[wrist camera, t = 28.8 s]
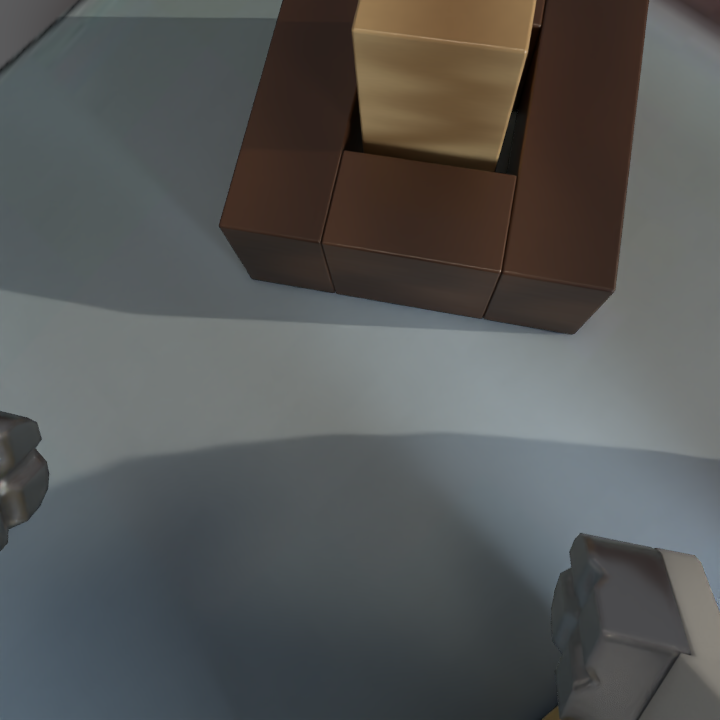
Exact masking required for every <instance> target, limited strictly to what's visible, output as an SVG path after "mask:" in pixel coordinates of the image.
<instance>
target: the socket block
mask: <svg viewBox="0 0 720 720" xmlns="http://www.w3.org/2000/svg"><path fill="white" fill-rule="evenodd" d="M357 4H358V0H283V1H282V5H281V8H280V12H279V16H278V19H277V23H276V26H275V30H274V33H273V37H272V40H271V44H270V47H269V51H268V54H267V58H266V61H265V65H264V68H263V72H262V75H261V79H260V82H259V86H258V89H257V93H256V96H255V100H254V103H253V107H252V111H251V114H250V118H249V121H248V125H247V128H246V132H245V135H244V139H243V142H242V146H241V149H240V153H239V156H238V160H237V163H236V167H235V170H234V174H233V177H232V181H231V184H230V188H229V191H228V195H227V198H226V202H225V206H224V209H223V213H222V216H221V220H220V223H219V227H220V229H221V231H222V232H223V234H224V235H225V237H226V239H227V240H228V242H229V243H230V245H231V247H232V248H233V250H234V251H235V253H236V254H237V256H238V258H239V259H240V261H241V262H242V264H243V266H244V267H245V269H246V270H247V272H248V274H249V275H250V277H251V278H252V279H256V280H262V281H268V282H274V283H279V284H285V285H291V286H297V287H302V288H308V289H314V290H320V291H325V292H331V293H335V291H336V293H337V294H342V295H348V296H354V297H359V298H365V299H371V300H377V301H382V302H388V303H394V304H399V305H405V306H411V307H417V308H422V309H428V310H434V311H440V312H445V313H451V314H457V315H463V316H468V317H474V318H480V319H481V318H482V317H483V318H484V319H487V320H492V321H498V322H504V323H510V324H515V325H521V326H527V327H533V328H538V329H544V330H550V331H556V332H561V333H567V334H575V333H576V332H577V331H578V329H579V328H580V327H581V326H582V325H583V324H584V323H585V322H586V321H587V320H588V319H589V318H590V317H591V316H592V315H593V314H594V313H595V312H596V311H597V310H598V309H599V307H600V306H601V305H602V304H603V303H604V302H605V301H606V300H607V299H608V298H609V297H610V296H611V295H612V294H613V293H614V291H615V288H616V280H617V271H618V262H619V254H620V245H621V237H622V228H623V219H624V211H625V202H626V193H627V185H628V176H629V168H630V159H631V150H632V142H633V133H634V124H635V116H636V107H637V99H638V90H639V81H640V73H641V64H642V55H643V47H644V38H645V30H646V21H647V12H648V4H649V0H537V1H536V7H535V13H534V19H533V25H532V31H531V37H530V43H529V49H528V54H527V57H526V61H525V65H524V68H523V72H522V76H521V79H520V83H519V86H518V90H517V94H516V97H515V101H514V104H513V108H512V110H514V111H515V110H517V109H518V111H517V117H516V123H515V129H514V135H513V141H512V146H511V152H510V158H509V164H508V170H507V174H503V173H496V172H489V171H483V170H476V169H469V168H462V167H456V166H449V165H442V164H435V163H428V162H422V161H415V160H408V159H401V158H394V157H388V156H381V155H374V154H367V153H363V144H362V134H361V124H360V114H359V104H358V94H357V84H356V74H355V64H354V54H353V43H352V33H351V28H352V24H353V20H354V16H355V12H356V8H357Z"/></svg>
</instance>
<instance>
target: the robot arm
mask: <svg viewBox="0 0 720 720" xmlns="http://www.w3.org/2000/svg"><path fill="white" fill-rule="evenodd" d="M41 440H42V438H41V434H40V431H39V427H38V424H37V422H36V421H34V420H32V419H29V418H27V417H23V416H19V415H15V414H10V413H6V412H2V411H0V551H1V550H2V549H3V548H4V547H5V546H6V545H7V544H8V533H9V529H11V528H13V527H15V526H17V525H20V524H22V523H24V522H26V521H28V520H29V519H30V518H31V517H32V515H33V514H34V513H35V512H36V511H37V509H38V508H39V507H40V506H41V503H42V501H43V499H44V497H45V494H46V492H47V490H48V484H49V470H48V465H47V461H46V460H45V459H44V458H43V457H42V456H41V454H40V453H39V452H38V451H37V450H36V449H35V448H36V447H37V445H38V444H39V443H40V441H41ZM569 553H570V561H571V568H569V569H568V570H566V571H564V572H562V573H560V576H559V579H558V581H557V584H556V587H555V590H554V595H553V601H552V607H551V633H552V641H553V643H554V644H555V645H556V647H557V648H558V650H559V651H560V652H561V654H562V656H561V658H560V660H559V663H558V665H557V667H556V669H555V678H556V689H557V699H558V709H559V719H560V720H720V612H719V609H718V606H717V604H716V601H715V598H714V596H713V593H712V591H711V588H710V585H709V583H708V580H707V577H706V575H705V572H704V569H703V567H702V564H701V562H700V561H699V560H698V559H697V558H696V556H695V555H690V554H685V553H680V552H675V551H669V550H664V549H659V548H652V547H648V546H643V545H638V544H633V543H628V542H623V541H618V540H613V539H608V538H603V537H598V536H593V535H588V534H583V533H580V534H579V535H578V536H577V537H576V538H575V540H574V542H573V544H572V547H571V549H570V551H569Z"/></svg>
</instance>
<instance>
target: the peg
mask: <svg viewBox="0 0 720 720" xmlns="http://www.w3.org/2000/svg"><path fill="white" fill-rule="evenodd" d="M536 1H537V0H358V4H357V8H356V12H355V16H354V20H353V24H352V28H351V33H352V43H353V54H354V64H355V74H356V84H357V94H358V104H359V114H360V124H361V134H362V144H363V153H367V154H374V155H381V156H388V157H394V158H401V159H408V160H415V161H422V162H428V163H435V164H442V165H449V166H456V167H462V168H469V169H476V170H483V171H489V172H495V169H496V166H497V162H498V159H499V155H500V151H501V148H502V144H503V141H504V137H505V133H506V130H507V126H508V122H509V119H510V115H511V112H512V108H513V104H514V101H515V97H516V94H517V90H518V86H519V83H520V79H521V76H522V72H523V68H524V65H525V61H526V57H527V54H528V49H529V43H530V37H531V31H532V25H533V19H534V13H535V7H536Z"/></svg>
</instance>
